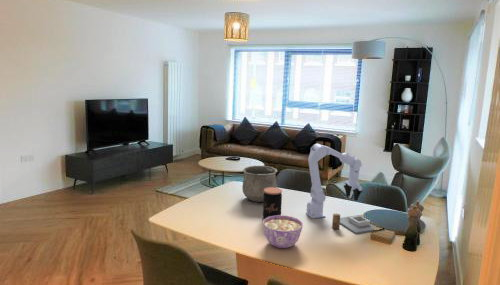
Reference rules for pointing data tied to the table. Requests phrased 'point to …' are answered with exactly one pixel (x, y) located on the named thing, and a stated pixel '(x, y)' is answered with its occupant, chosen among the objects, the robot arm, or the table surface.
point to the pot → (258, 181)
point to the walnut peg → (336, 221)
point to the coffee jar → (272, 202)
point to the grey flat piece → (357, 224)
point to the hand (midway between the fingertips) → (351, 198)
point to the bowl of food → (282, 230)
